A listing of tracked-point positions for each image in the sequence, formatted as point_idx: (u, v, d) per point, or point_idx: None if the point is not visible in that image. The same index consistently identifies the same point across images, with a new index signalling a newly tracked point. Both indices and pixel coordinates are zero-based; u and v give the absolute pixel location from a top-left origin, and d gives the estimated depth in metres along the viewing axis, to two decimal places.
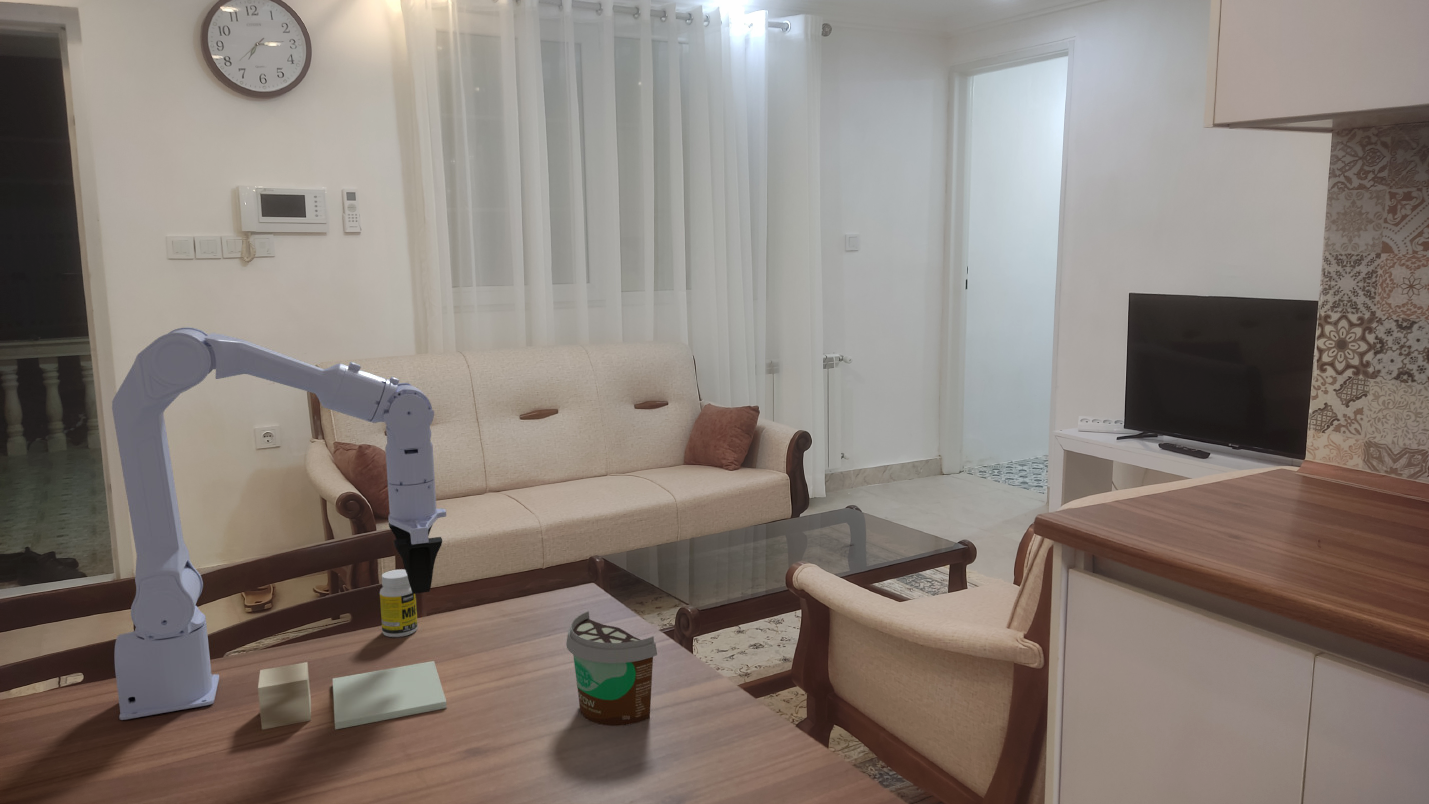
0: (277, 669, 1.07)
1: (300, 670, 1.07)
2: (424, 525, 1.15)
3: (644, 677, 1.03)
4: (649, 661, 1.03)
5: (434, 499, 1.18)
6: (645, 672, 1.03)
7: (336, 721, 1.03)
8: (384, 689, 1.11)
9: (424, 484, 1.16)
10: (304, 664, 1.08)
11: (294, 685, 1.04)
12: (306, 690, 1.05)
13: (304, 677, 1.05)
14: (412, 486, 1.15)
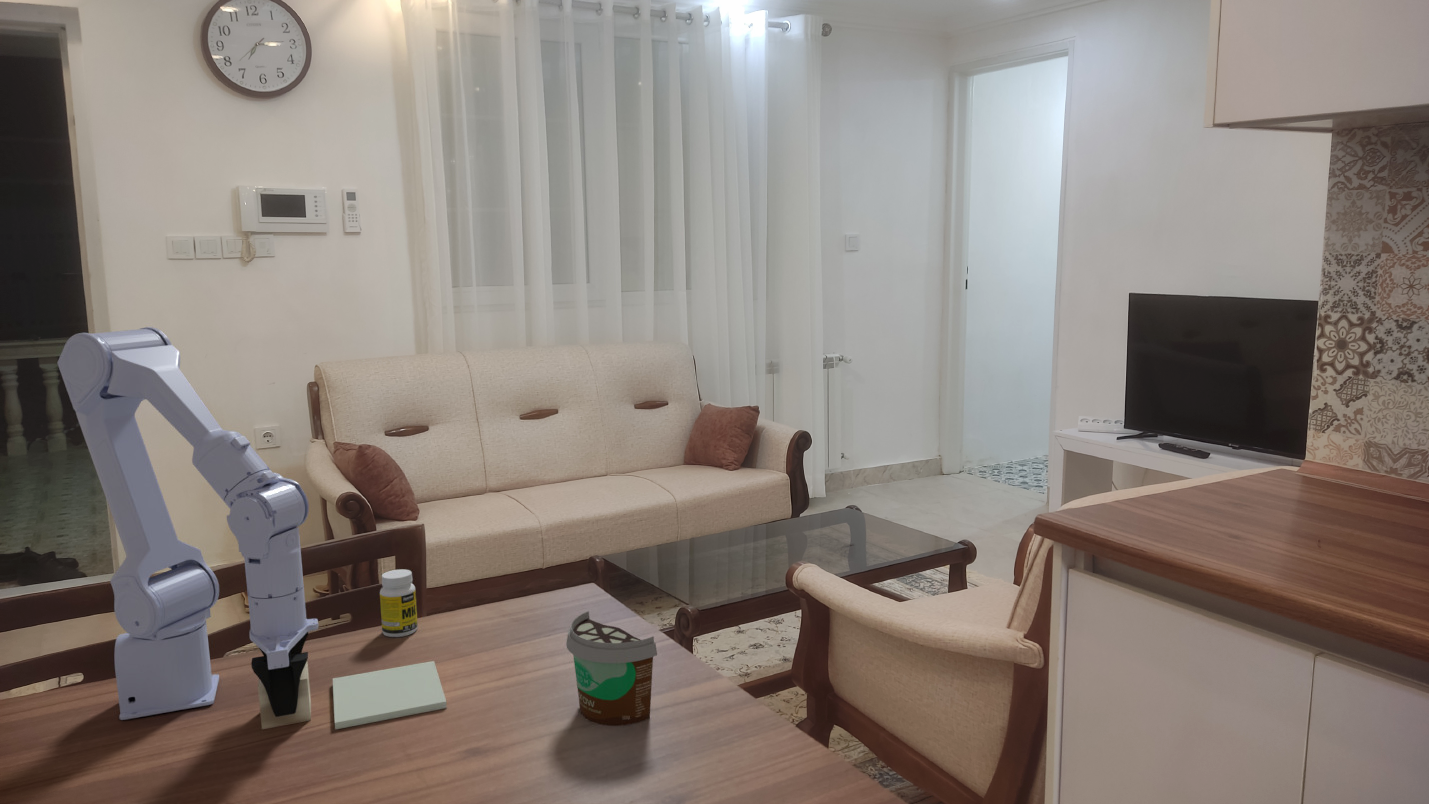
0: None
1: None
2: (286, 644, 1.01)
3: (644, 677, 1.03)
4: (649, 661, 1.03)
5: (302, 611, 1.05)
6: (645, 672, 1.03)
7: (336, 721, 1.03)
8: (384, 689, 1.11)
9: (288, 596, 1.02)
10: None
11: None
12: (306, 689, 1.05)
13: (304, 676, 1.05)
14: (273, 599, 1.02)
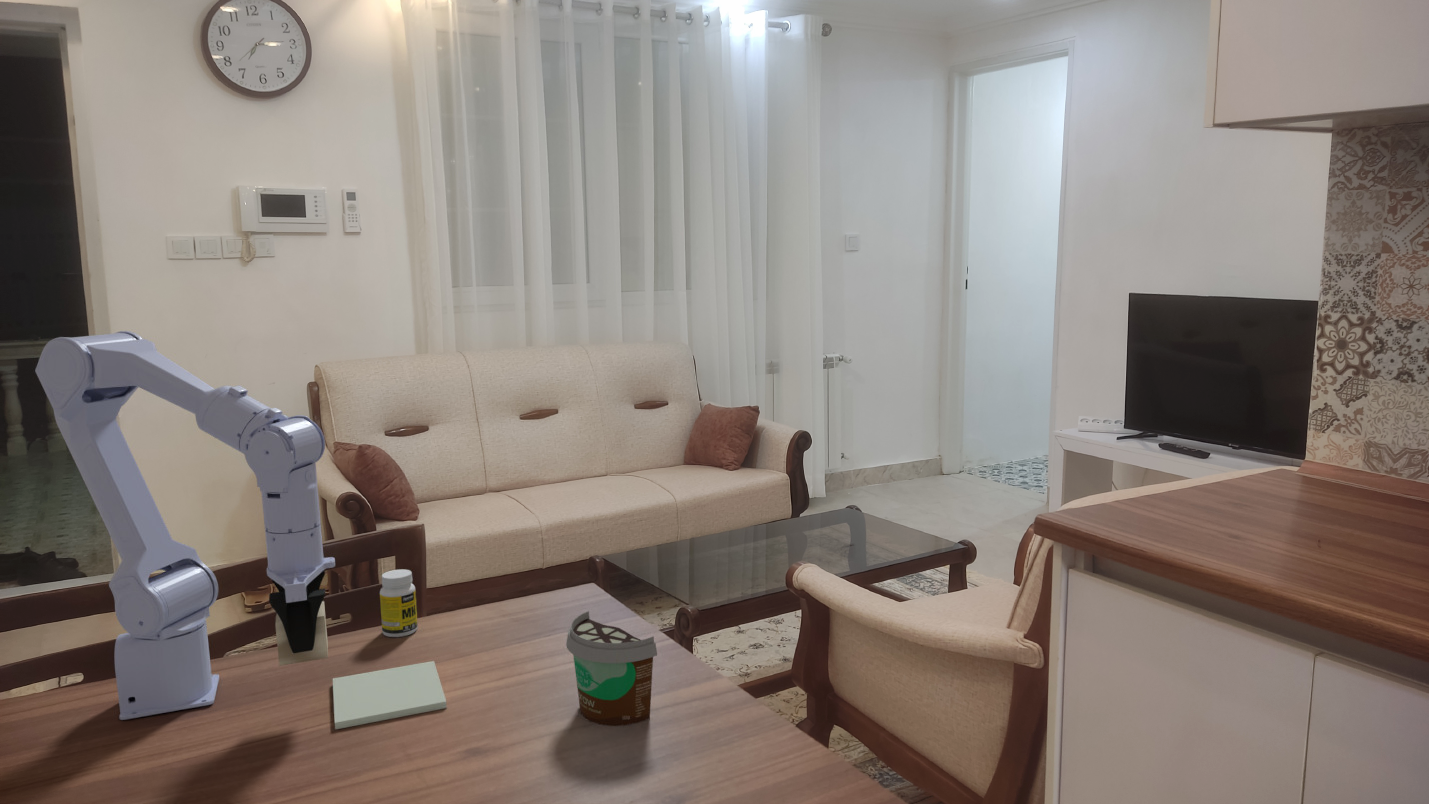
0: None
1: None
2: (304, 579, 1.01)
3: (644, 677, 1.03)
4: (649, 661, 1.03)
5: (319, 548, 1.04)
6: (645, 672, 1.03)
7: (336, 721, 1.03)
8: (384, 689, 1.11)
9: (306, 532, 1.02)
10: (321, 603, 1.08)
11: None
12: (323, 627, 1.04)
13: (321, 614, 1.05)
14: (291, 534, 1.01)
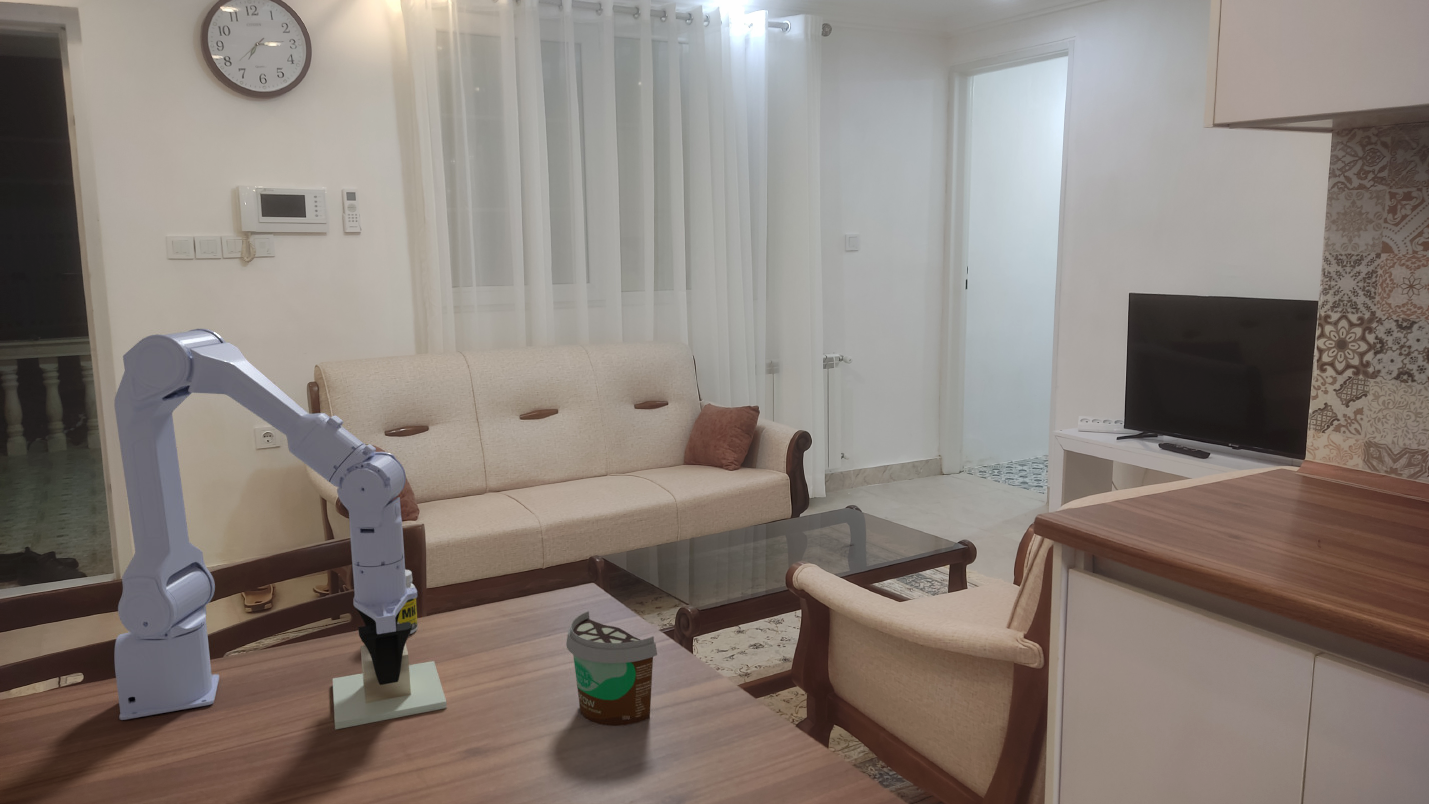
0: None
1: None
2: (391, 611, 1.05)
3: (644, 677, 1.03)
4: (649, 661, 1.03)
5: (403, 579, 1.08)
6: (645, 672, 1.03)
7: (336, 721, 1.03)
8: None
9: (392, 565, 1.06)
10: None
11: None
12: (407, 665, 1.09)
13: (404, 652, 1.09)
14: (379, 567, 1.06)
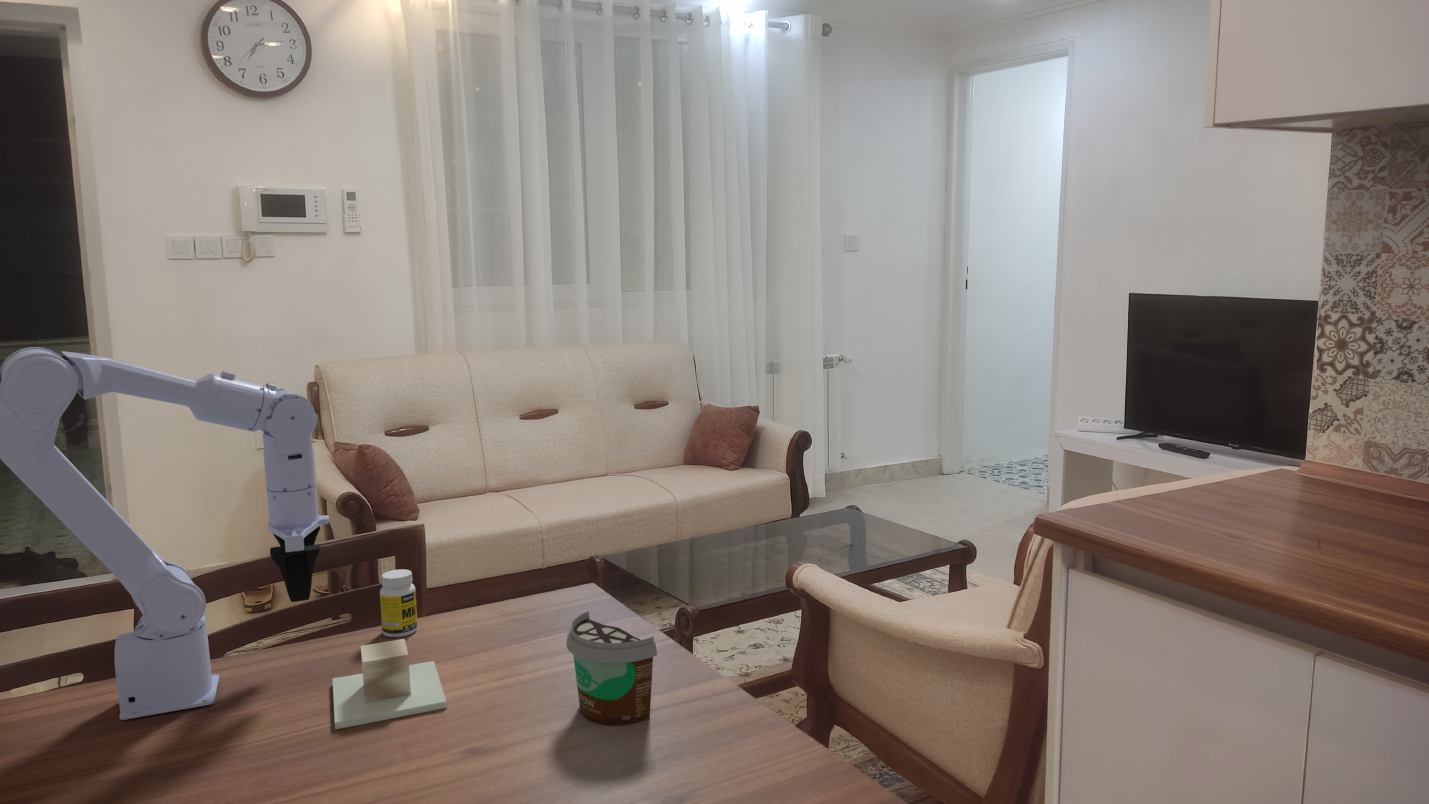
0: (377, 645, 1.11)
1: (399, 646, 1.11)
2: (301, 532, 1.13)
3: (644, 677, 1.03)
4: (649, 661, 1.03)
5: (315, 506, 1.17)
6: (645, 672, 1.03)
7: (336, 721, 1.03)
8: None
9: (303, 491, 1.15)
10: (402, 640, 1.12)
11: (396, 660, 1.08)
12: (407, 665, 1.09)
13: (404, 652, 1.09)
14: (290, 493, 1.14)
